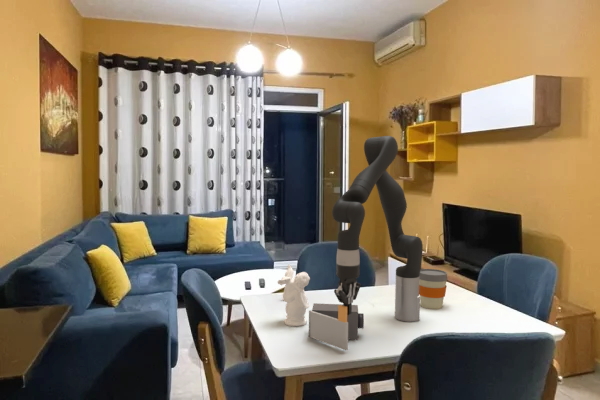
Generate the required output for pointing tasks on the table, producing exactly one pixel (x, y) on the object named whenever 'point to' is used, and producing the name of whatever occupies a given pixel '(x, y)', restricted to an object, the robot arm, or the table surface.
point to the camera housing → (353, 319)
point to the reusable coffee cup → (432, 288)
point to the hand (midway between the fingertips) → (347, 314)
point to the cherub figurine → (295, 297)
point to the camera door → (330, 328)
